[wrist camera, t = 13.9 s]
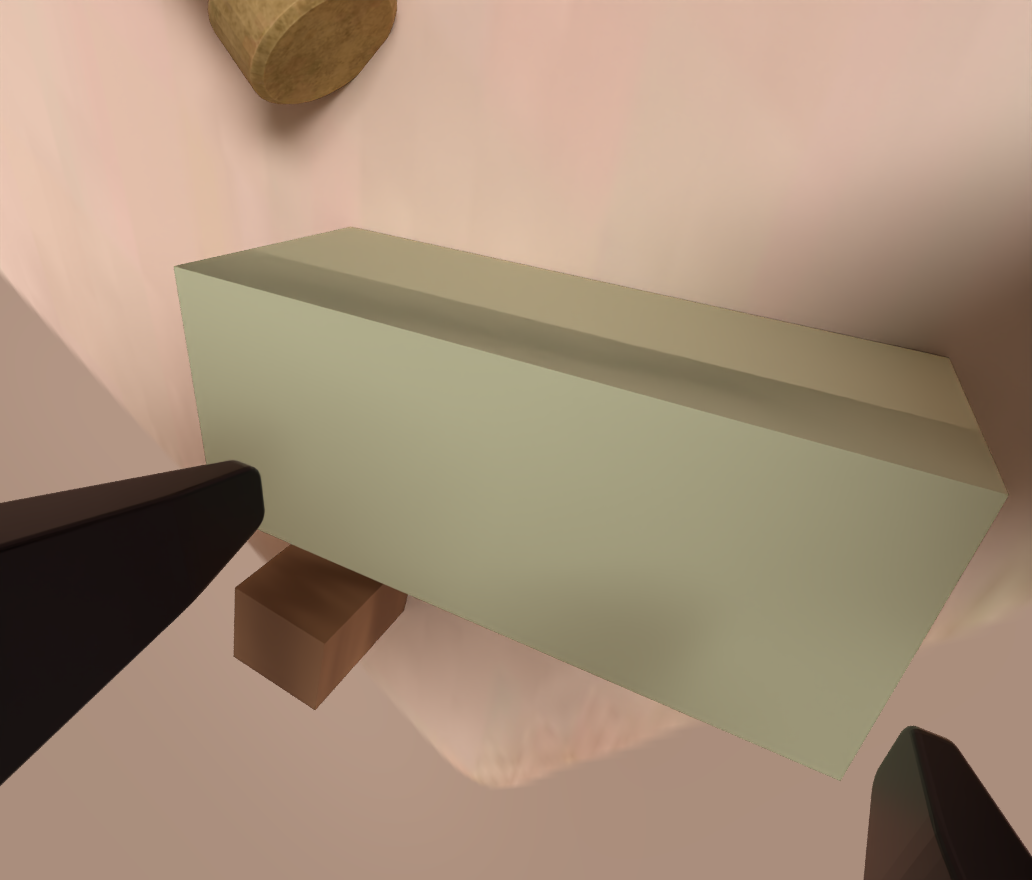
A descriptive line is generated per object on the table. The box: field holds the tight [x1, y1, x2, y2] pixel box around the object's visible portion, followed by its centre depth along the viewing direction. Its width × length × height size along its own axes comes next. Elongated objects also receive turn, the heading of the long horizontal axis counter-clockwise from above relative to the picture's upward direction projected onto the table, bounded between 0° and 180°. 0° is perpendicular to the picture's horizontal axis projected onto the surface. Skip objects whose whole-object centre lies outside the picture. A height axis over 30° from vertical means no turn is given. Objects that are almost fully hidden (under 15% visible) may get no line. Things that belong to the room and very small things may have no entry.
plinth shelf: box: [174, 227, 1009, 781], centre depth 18 cm, size 18×8×7 cm, turn 83°
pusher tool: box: [234, 544, 408, 710], centre depth 23 cm, size 4×14×6 cm, turn 163°
